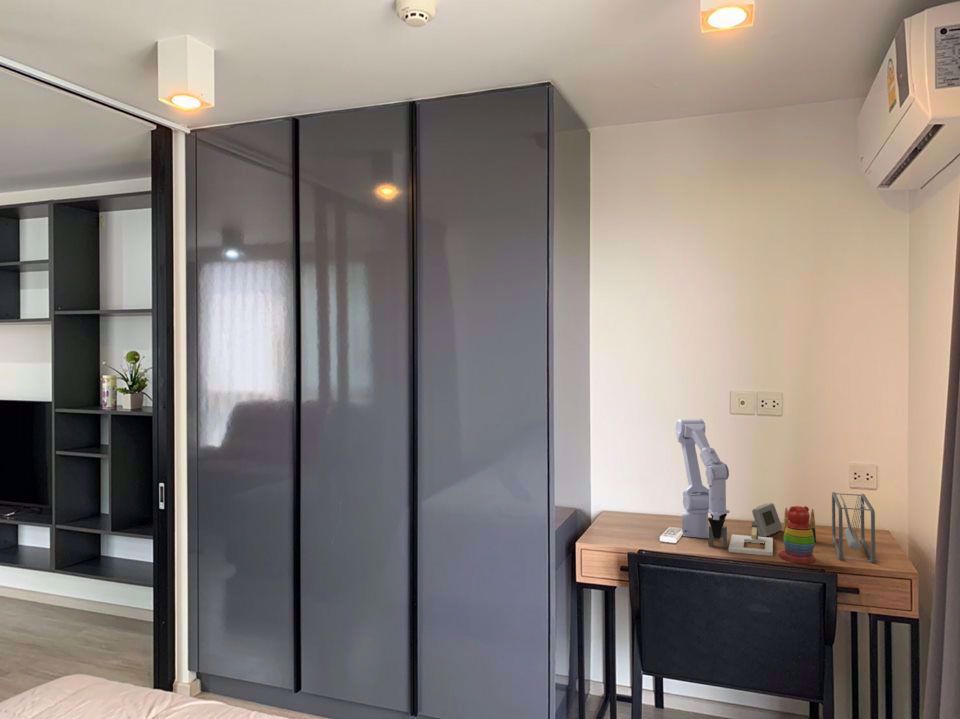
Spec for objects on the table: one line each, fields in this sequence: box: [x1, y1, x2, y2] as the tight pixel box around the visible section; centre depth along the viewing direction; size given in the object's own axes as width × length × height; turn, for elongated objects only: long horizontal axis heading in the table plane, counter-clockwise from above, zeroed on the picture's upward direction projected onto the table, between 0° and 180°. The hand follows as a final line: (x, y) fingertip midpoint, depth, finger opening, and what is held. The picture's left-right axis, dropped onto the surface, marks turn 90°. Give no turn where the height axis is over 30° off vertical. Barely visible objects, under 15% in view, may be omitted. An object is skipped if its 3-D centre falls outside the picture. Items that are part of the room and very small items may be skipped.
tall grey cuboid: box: [708, 524, 728, 549], centre depth 247 cm, size 6×2×7 cm, turn 67°
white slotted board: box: [728, 523, 774, 557], centre depth 247 cm, size 14×20×6 cm
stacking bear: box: [777, 505, 816, 564], centre depth 231 cm, size 11×10×18 cm
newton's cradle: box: [831, 491, 876, 564], centre depth 240 cm, size 30×10×18 cm, turn 157°
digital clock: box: [751, 502, 783, 537], centre depth 264 cm, size 16×9×11 cm, turn 123°
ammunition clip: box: [782, 507, 817, 543], centre depth 253 cm, size 11×2×12 cm, turn 74°
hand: (717, 535), depth 247 cm, fingers open, 7 cm apart
